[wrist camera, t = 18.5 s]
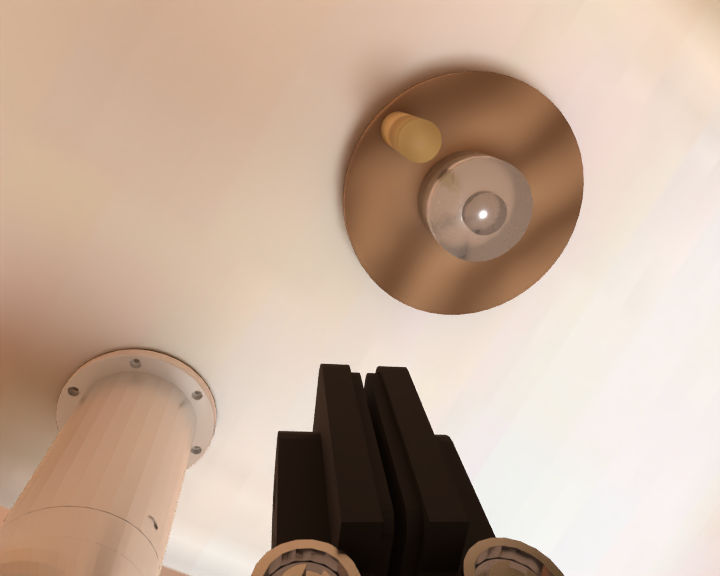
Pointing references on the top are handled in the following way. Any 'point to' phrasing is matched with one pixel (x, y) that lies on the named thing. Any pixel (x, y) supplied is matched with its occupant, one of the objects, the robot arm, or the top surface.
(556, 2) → the top surface
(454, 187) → the cover
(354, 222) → the turntable
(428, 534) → the robot arm
